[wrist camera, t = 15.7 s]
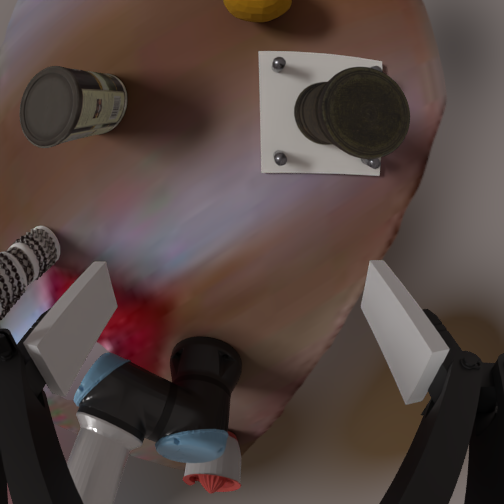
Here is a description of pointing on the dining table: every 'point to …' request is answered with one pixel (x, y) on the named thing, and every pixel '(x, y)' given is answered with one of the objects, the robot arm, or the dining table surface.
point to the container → (355, 113)
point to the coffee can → (70, 105)
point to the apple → (257, 9)
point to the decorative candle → (25, 264)
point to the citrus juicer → (218, 469)
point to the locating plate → (283, 121)
